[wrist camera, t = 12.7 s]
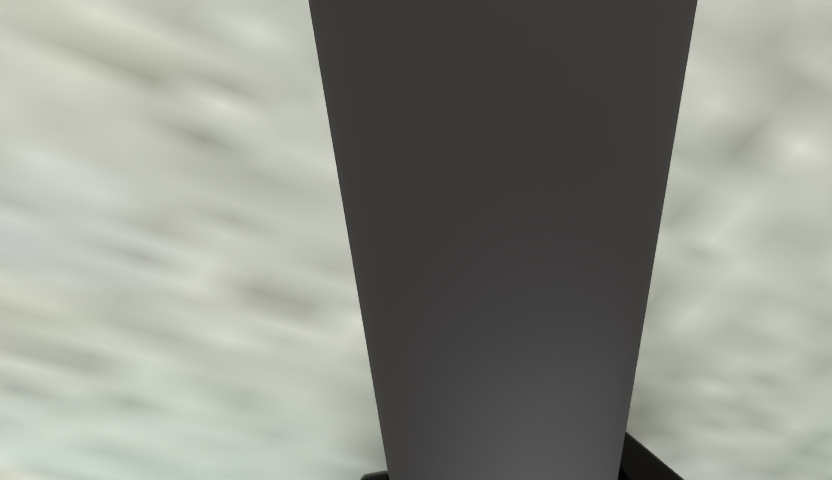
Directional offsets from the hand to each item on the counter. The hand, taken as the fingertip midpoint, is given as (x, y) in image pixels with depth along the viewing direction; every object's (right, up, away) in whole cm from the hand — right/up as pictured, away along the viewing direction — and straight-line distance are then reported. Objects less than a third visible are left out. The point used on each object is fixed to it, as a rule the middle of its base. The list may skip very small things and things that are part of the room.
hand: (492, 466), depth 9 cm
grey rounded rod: (0, +1, +1) cm, 1 cm away
